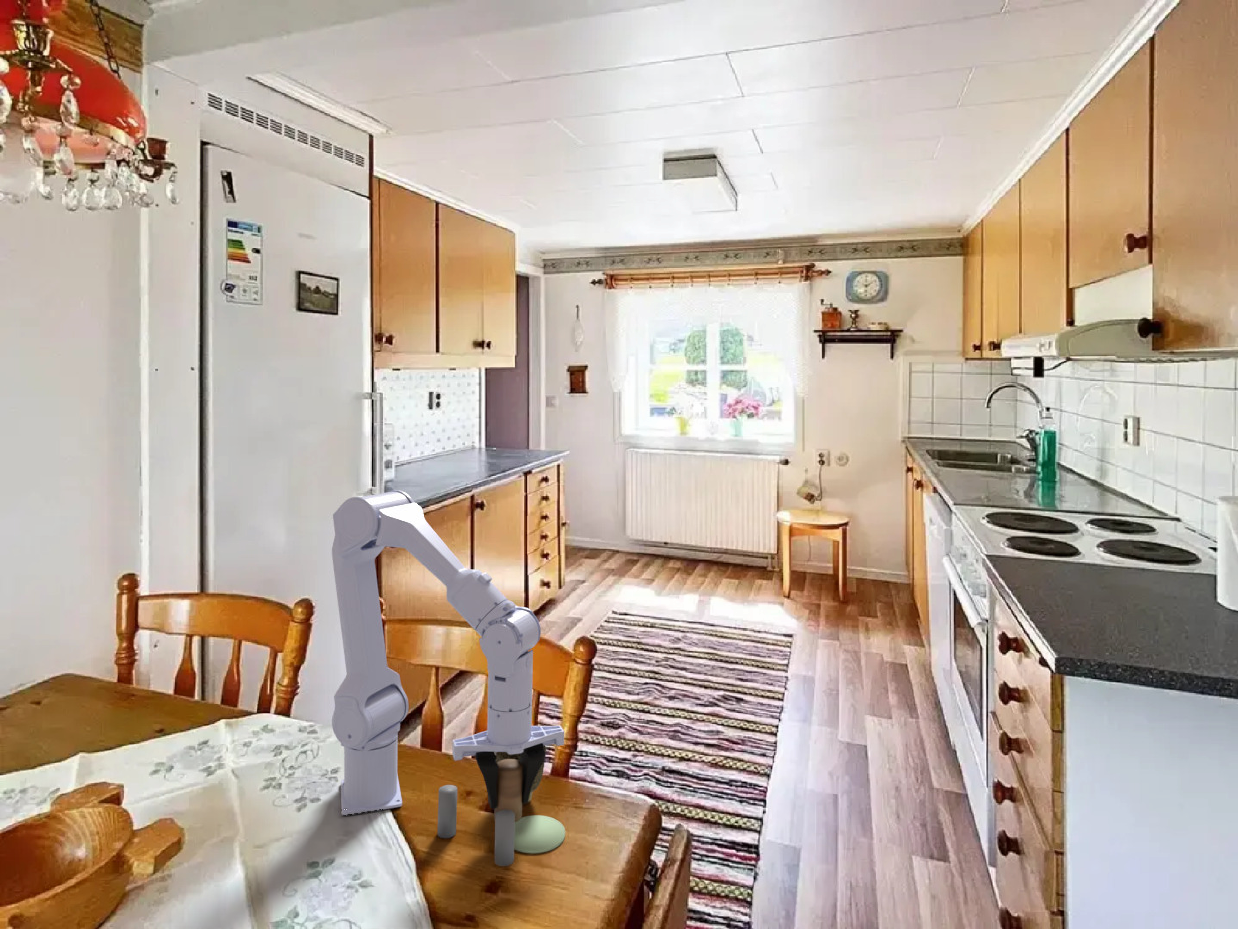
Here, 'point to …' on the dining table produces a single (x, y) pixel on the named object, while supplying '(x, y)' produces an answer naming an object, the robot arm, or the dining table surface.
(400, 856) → the dining table surface
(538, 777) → the cup
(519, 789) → the dowel
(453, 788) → the post
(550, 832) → the coaster
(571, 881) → the dining table surface
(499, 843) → the post
